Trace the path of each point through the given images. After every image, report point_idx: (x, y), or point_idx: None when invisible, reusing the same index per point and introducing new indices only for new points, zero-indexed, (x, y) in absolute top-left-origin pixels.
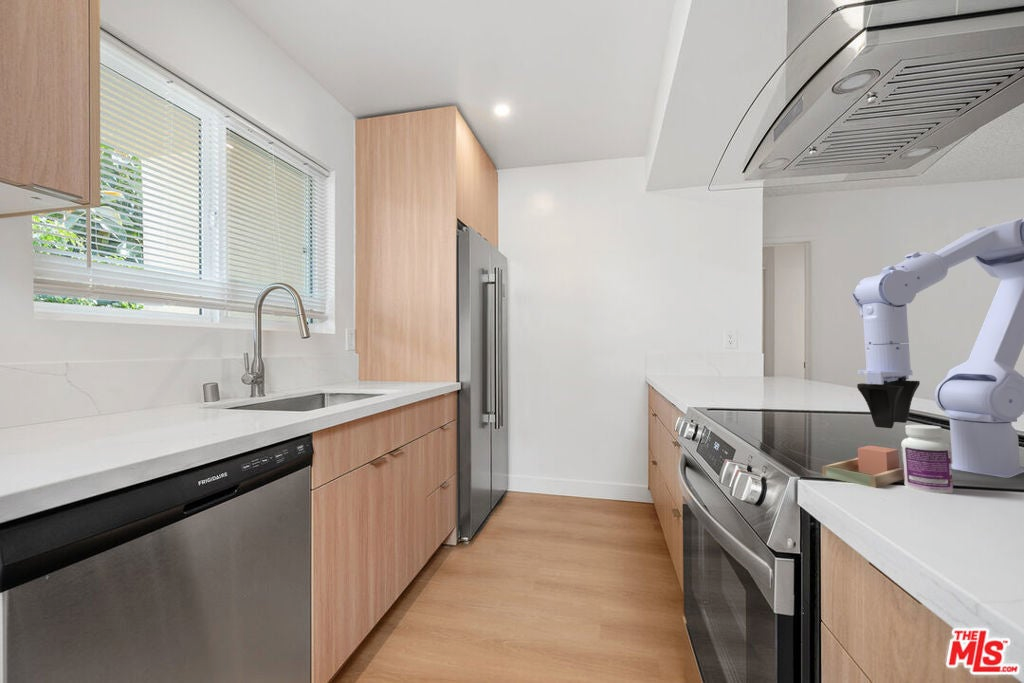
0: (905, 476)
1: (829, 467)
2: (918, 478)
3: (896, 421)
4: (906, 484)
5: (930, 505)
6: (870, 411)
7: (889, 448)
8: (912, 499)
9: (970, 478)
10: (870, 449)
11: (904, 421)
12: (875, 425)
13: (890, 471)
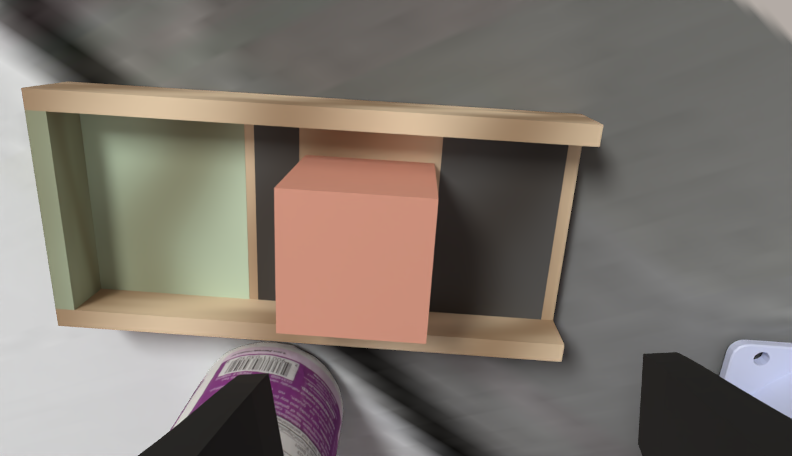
0: (207, 381)
1: (36, 125)
2: None
3: (644, 396)
4: (215, 364)
5: (98, 442)
6: (150, 448)
7: (417, 306)
8: (116, 395)
9: (638, 432)
10: (294, 252)
11: (641, 448)
12: (232, 381)
13: (218, 330)
